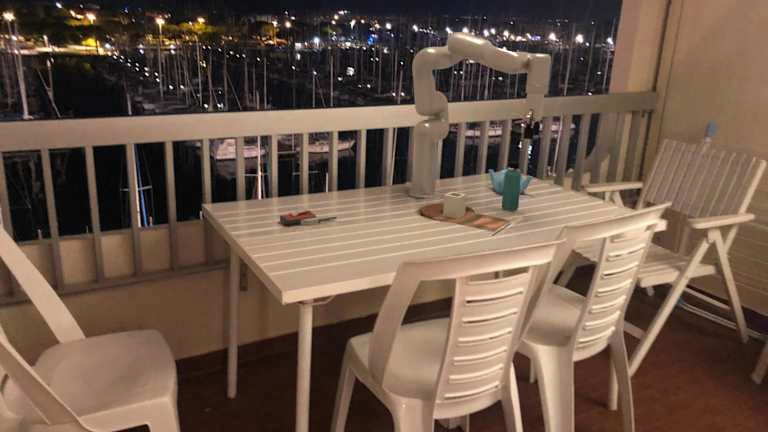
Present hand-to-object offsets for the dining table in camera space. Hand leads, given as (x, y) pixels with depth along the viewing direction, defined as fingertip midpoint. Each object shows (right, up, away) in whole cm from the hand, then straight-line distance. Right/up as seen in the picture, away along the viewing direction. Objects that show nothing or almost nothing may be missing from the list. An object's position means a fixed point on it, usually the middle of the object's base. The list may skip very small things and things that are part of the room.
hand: (531, 136), depth 221 cm
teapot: (+1, -18, +44) cm, 47 cm away
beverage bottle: (-5, -28, +13) cm, 31 cm away
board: (-22, -32, -2) cm, 39 cm away
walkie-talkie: (-81, -32, -7) cm, 87 cm away
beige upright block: (-28, -29, +2) cm, 40 cm away
